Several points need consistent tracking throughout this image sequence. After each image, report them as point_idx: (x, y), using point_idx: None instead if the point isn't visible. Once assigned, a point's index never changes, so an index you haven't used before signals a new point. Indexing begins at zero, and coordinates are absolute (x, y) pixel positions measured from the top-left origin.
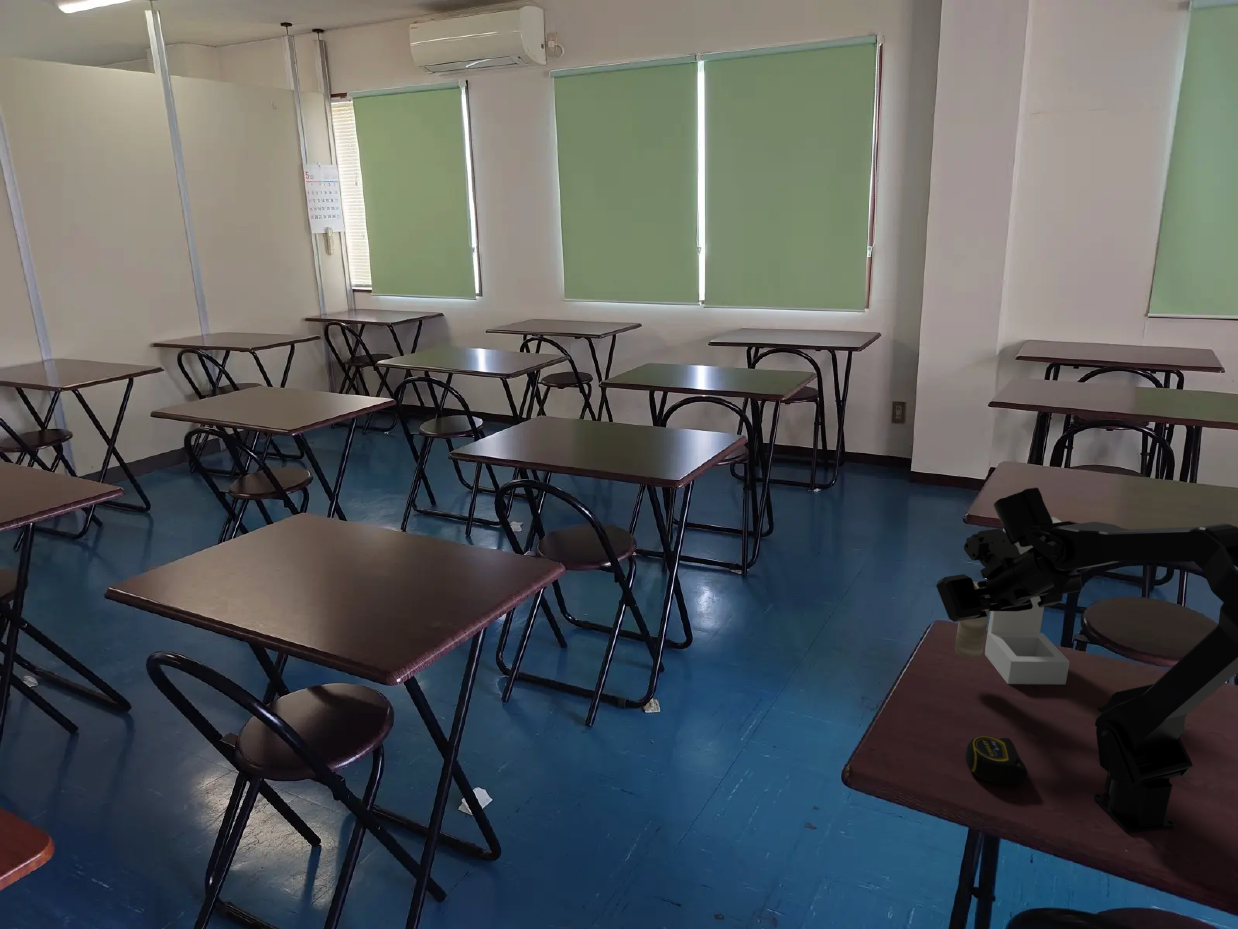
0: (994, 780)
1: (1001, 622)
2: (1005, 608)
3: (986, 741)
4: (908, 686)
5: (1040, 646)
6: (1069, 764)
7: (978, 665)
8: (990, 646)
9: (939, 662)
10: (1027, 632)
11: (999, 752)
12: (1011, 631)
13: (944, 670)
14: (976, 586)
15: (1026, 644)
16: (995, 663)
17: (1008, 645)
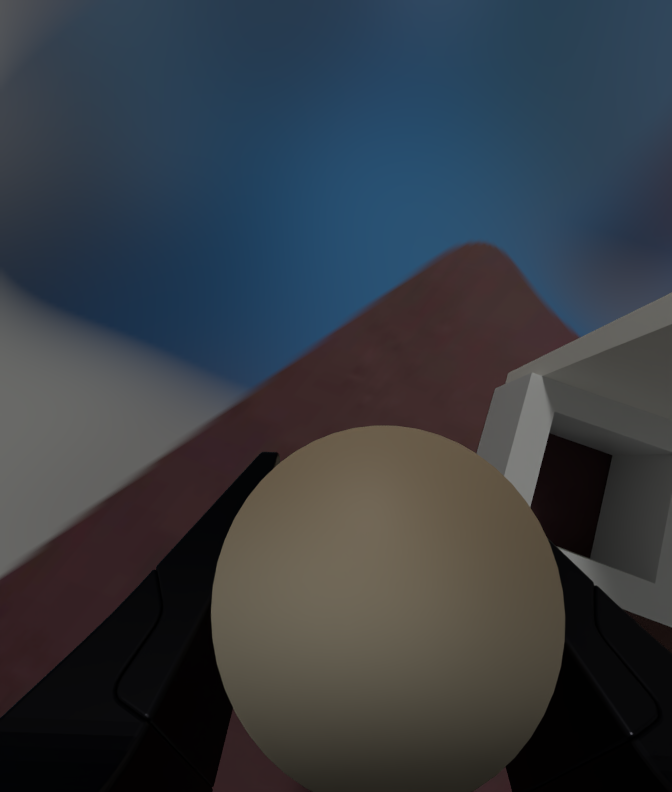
0: None
1: (600, 377)
2: (521, 786)
3: None
4: (190, 453)
5: (656, 479)
6: None
7: (440, 429)
8: (507, 407)
9: (349, 381)
10: (665, 416)
11: None
12: (613, 397)
13: (334, 419)
14: (387, 572)
15: (622, 444)
16: (481, 453)
17: (564, 424)
